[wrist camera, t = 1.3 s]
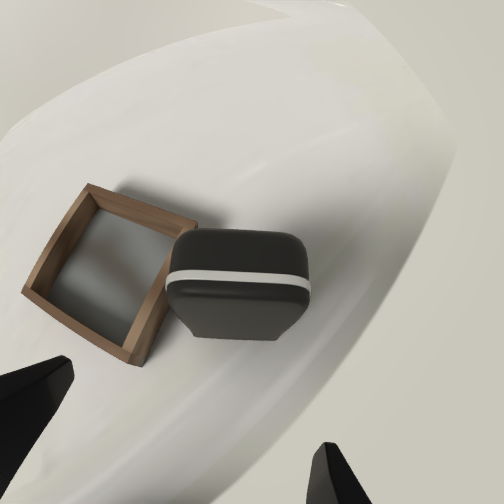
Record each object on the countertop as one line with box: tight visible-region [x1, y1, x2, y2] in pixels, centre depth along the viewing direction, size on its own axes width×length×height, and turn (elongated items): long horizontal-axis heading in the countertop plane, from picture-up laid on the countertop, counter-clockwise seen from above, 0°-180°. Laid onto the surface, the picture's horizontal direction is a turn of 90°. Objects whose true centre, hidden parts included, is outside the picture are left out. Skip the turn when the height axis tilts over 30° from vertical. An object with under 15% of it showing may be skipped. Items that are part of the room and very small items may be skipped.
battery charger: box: [165, 228, 311, 341], centre depth 18 cm, size 7×4×11 cm, turn 89°
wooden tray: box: [21, 183, 198, 367], centre depth 22 cm, size 12×12×4 cm
